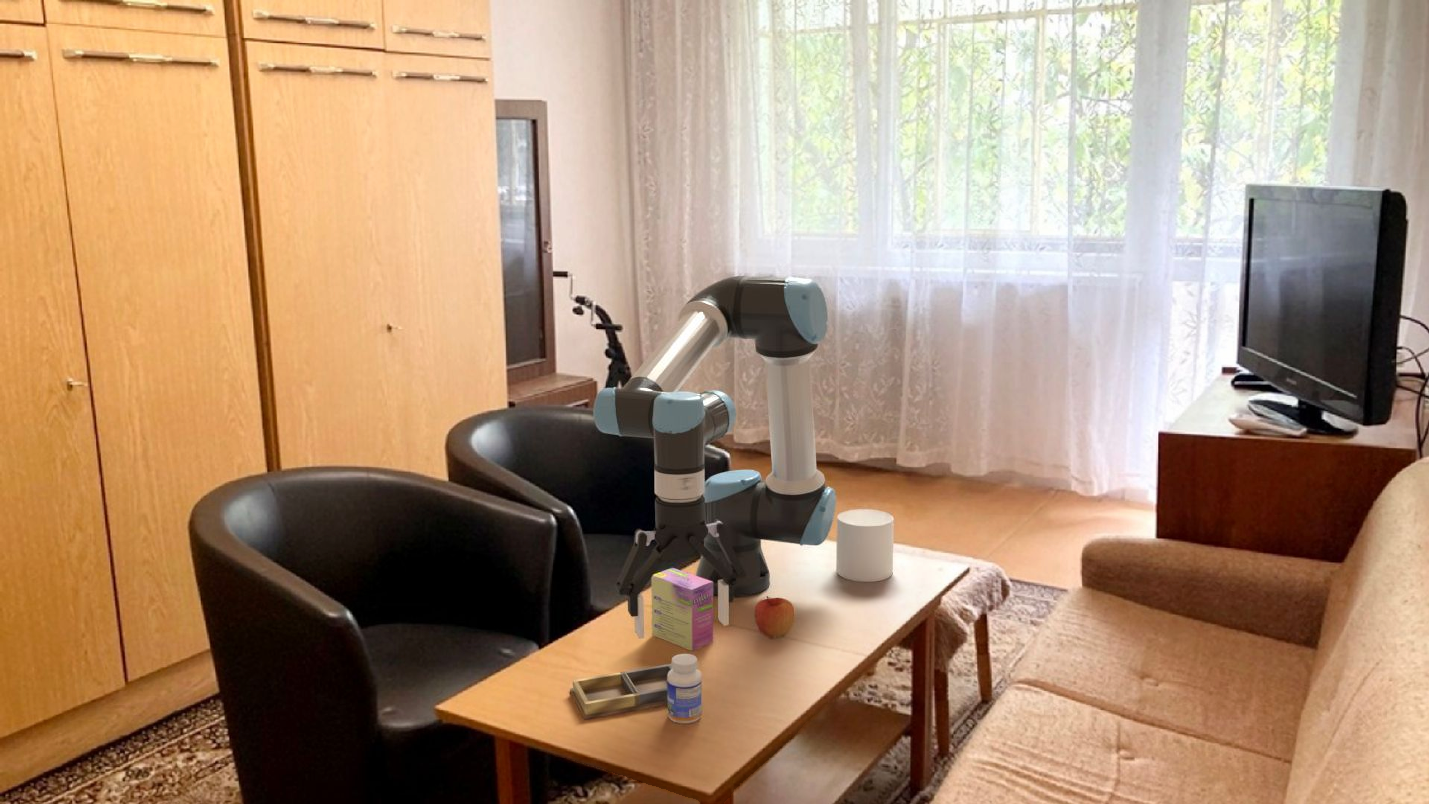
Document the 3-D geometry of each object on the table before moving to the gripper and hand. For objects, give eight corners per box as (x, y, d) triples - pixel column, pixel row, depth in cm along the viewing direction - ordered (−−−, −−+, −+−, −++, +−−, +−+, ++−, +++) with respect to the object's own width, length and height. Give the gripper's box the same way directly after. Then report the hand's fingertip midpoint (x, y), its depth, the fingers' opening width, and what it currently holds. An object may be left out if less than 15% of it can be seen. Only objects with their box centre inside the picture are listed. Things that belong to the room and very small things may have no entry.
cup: (896, 582, 233) (897, 526, 231) (839, 582, 234) (839, 526, 231) (888, 561, 245) (889, 508, 242) (834, 562, 245) (834, 508, 243)
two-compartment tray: (584, 719, 179) (584, 706, 178) (570, 691, 188) (569, 678, 188) (691, 700, 184) (691, 688, 184) (671, 673, 194) (671, 661, 193)
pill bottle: (667, 708, 182) (665, 652, 180) (700, 707, 182) (699, 650, 180) (668, 725, 176) (667, 667, 174) (703, 723, 177) (702, 665, 175)
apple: (802, 638, 207) (803, 597, 205) (769, 648, 203) (768, 606, 202) (780, 624, 213) (780, 584, 211) (747, 633, 210) (746, 592, 208)
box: (714, 642, 206) (713, 580, 204) (692, 652, 202) (691, 589, 200) (673, 626, 213) (672, 566, 211) (651, 636, 209) (650, 575, 207)
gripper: (605, 512, 164) (609, 650, 168) (766, 493, 172) (766, 625, 176) (592, 497, 170) (597, 630, 175) (748, 480, 179) (748, 608, 183)
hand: (682, 628), depth 176 cm, fingers open, 13 cm apart
